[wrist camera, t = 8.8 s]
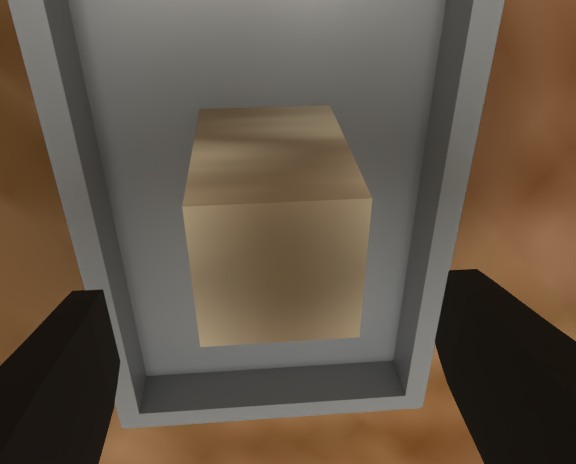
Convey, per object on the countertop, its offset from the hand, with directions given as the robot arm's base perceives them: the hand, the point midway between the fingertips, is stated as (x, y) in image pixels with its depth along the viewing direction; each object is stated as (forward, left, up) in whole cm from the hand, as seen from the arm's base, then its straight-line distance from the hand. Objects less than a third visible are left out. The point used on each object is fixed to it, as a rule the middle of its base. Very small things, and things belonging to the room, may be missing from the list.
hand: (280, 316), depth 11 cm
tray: (0, 0, -8) cm, 8 cm away
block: (0, 0, -7) cm, 7 cm away
